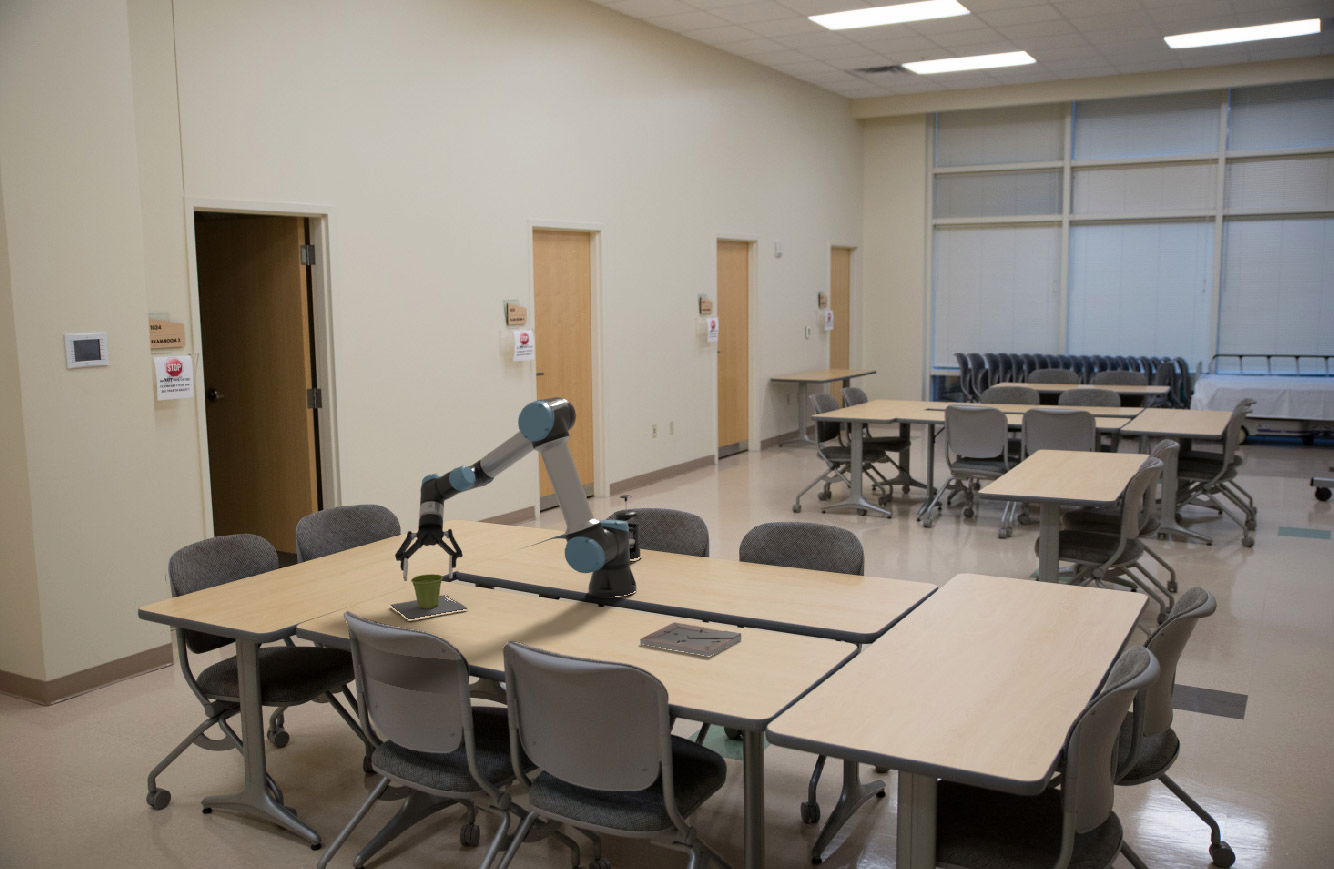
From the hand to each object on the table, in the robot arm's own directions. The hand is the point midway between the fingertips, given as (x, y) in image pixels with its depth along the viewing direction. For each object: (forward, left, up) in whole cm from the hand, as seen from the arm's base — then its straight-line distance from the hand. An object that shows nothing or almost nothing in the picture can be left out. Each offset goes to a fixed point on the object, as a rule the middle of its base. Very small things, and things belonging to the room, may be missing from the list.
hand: (427, 577), depth 318 cm
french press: (+16, -78, -10) cm, 81 cm away
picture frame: (-75, -47, -11) cm, 89 cm away
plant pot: (-1, 0, -9) cm, 9 cm away
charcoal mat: (-1, +1, -10) cm, 10 cm away
